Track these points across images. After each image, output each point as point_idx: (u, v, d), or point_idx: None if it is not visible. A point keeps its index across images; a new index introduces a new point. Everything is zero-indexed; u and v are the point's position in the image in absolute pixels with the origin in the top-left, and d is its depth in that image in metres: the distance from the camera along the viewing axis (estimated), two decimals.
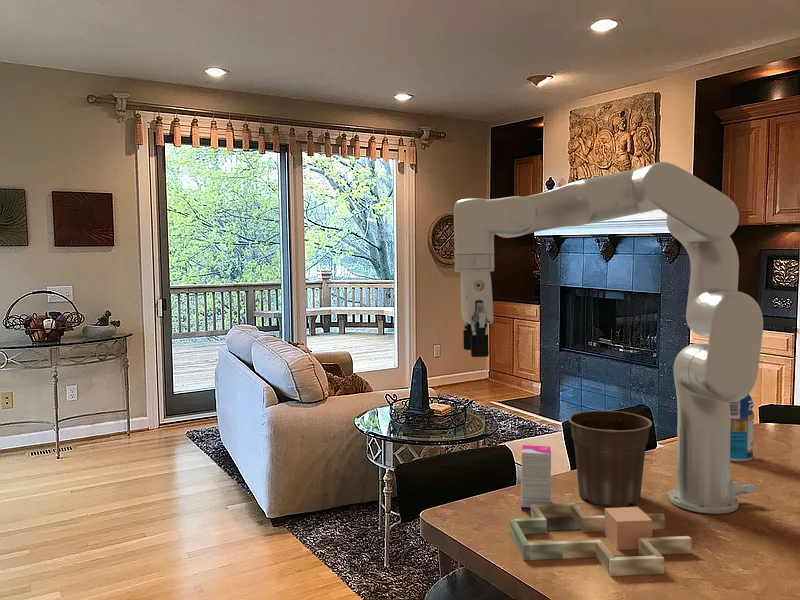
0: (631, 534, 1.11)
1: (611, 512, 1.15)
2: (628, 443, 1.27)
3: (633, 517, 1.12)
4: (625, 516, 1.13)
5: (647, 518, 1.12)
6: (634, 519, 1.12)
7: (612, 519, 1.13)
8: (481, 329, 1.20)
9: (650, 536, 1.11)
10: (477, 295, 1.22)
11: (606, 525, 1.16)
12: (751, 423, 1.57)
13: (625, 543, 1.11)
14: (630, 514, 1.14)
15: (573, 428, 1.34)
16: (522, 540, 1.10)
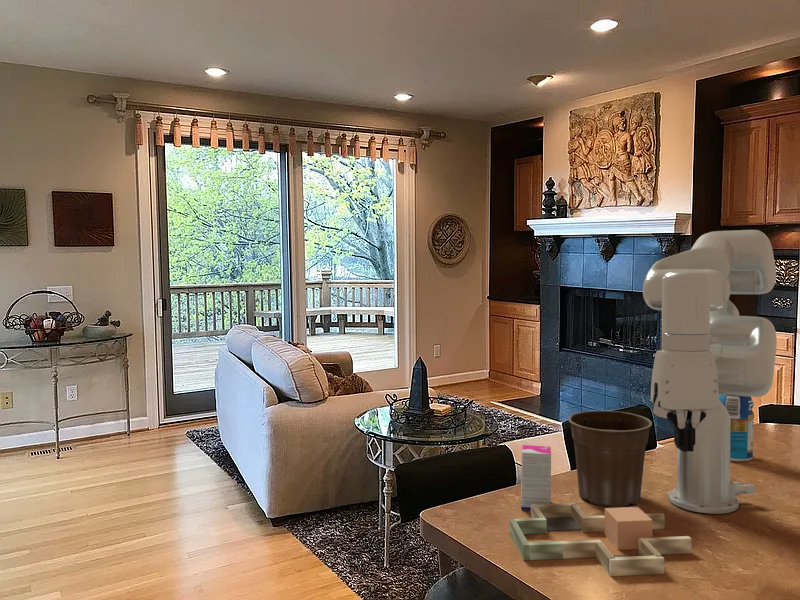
0: (632, 534, 1.11)
1: (611, 512, 1.15)
2: (628, 443, 1.27)
3: (634, 517, 1.12)
4: (625, 516, 1.13)
5: (647, 518, 1.12)
6: (634, 519, 1.12)
7: (612, 519, 1.13)
8: None
9: (650, 536, 1.11)
10: None
11: (606, 525, 1.16)
12: (751, 423, 1.57)
13: (626, 543, 1.11)
14: (630, 514, 1.14)
15: (573, 428, 1.34)
16: (522, 540, 1.10)
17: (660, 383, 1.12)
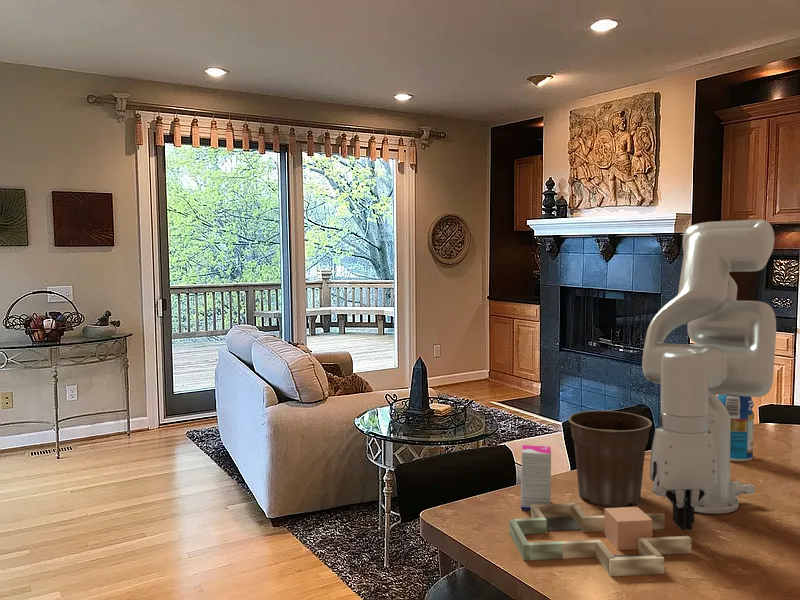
0: (632, 534, 1.11)
1: (611, 512, 1.15)
2: (628, 443, 1.27)
3: (634, 517, 1.12)
4: (625, 516, 1.13)
5: (647, 518, 1.12)
6: (634, 519, 1.12)
7: (612, 519, 1.13)
8: None
9: (650, 536, 1.11)
10: None
11: (606, 525, 1.16)
12: (751, 423, 1.57)
13: (626, 543, 1.11)
14: (630, 514, 1.14)
15: (573, 428, 1.34)
16: (522, 540, 1.10)
17: (658, 463, 1.13)
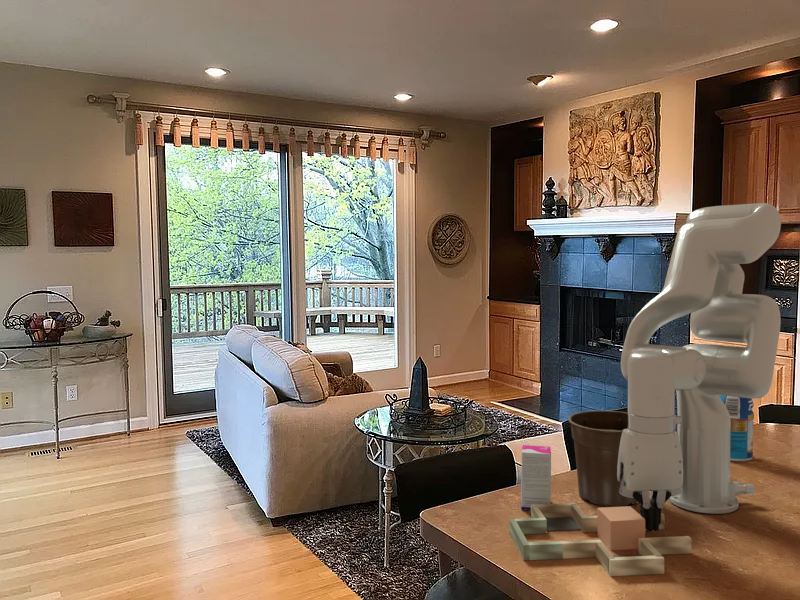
0: (625, 533, 1.11)
1: (604, 511, 1.15)
2: None
3: (626, 517, 1.12)
4: (618, 516, 1.13)
5: (640, 517, 1.12)
6: (627, 518, 1.12)
7: (605, 518, 1.13)
8: None
9: (643, 535, 1.11)
10: None
11: (598, 524, 1.16)
12: (751, 423, 1.57)
13: (619, 542, 1.11)
14: (623, 513, 1.14)
15: (573, 428, 1.34)
16: (522, 540, 1.10)
17: (625, 464, 1.12)
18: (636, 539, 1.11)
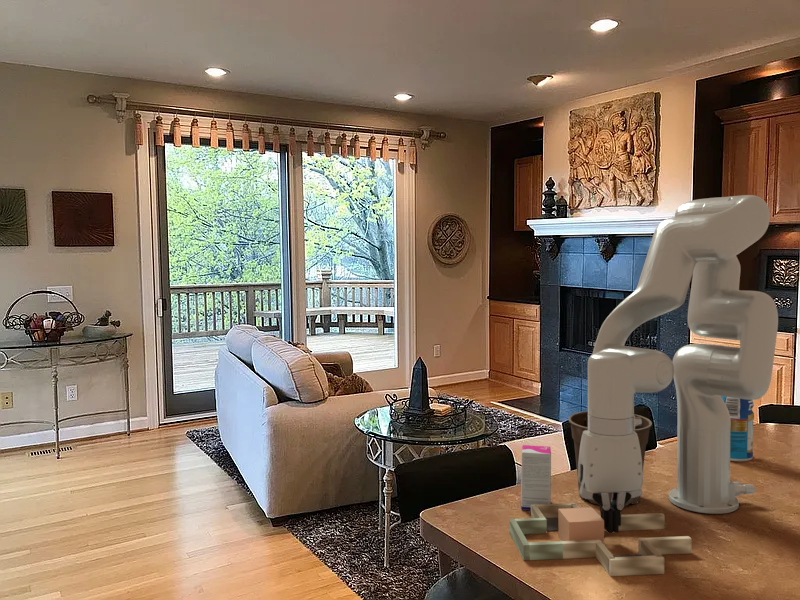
0: (583, 534, 1.11)
1: (564, 512, 1.15)
2: None
3: (586, 518, 1.12)
4: (578, 517, 1.13)
5: (599, 518, 1.12)
6: (586, 520, 1.11)
7: (565, 519, 1.13)
8: None
9: (602, 537, 1.11)
10: None
11: (559, 525, 1.16)
12: (751, 423, 1.57)
13: None
14: (583, 514, 1.14)
15: (573, 428, 1.34)
16: (522, 540, 1.10)
17: (584, 465, 1.12)
18: None
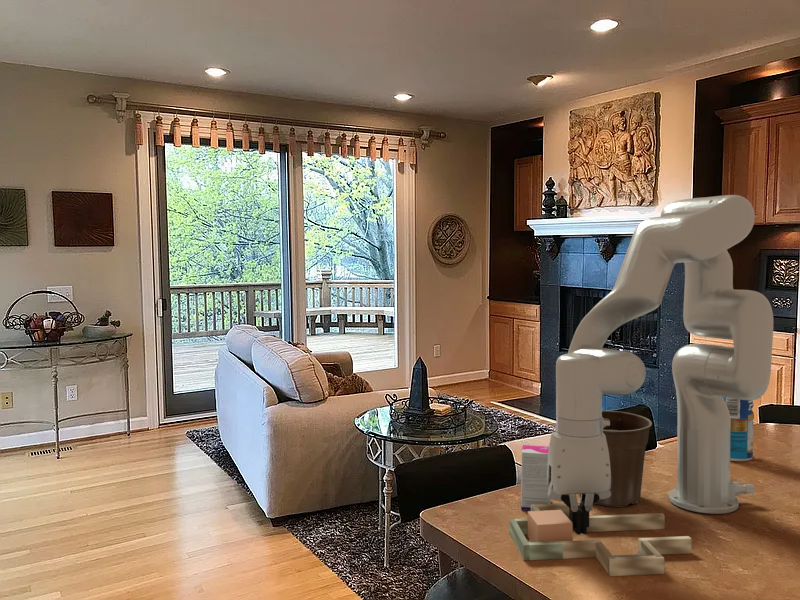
0: (552, 537, 1.11)
1: (533, 515, 1.14)
2: (628, 443, 1.27)
3: (554, 520, 1.12)
4: (546, 520, 1.12)
5: (568, 521, 1.12)
6: (555, 522, 1.11)
7: (533, 522, 1.13)
8: None
9: (570, 539, 1.11)
10: None
11: (528, 528, 1.16)
12: (751, 423, 1.57)
13: None
14: (552, 517, 1.14)
15: None
16: (522, 540, 1.10)
17: (552, 467, 1.12)
18: None
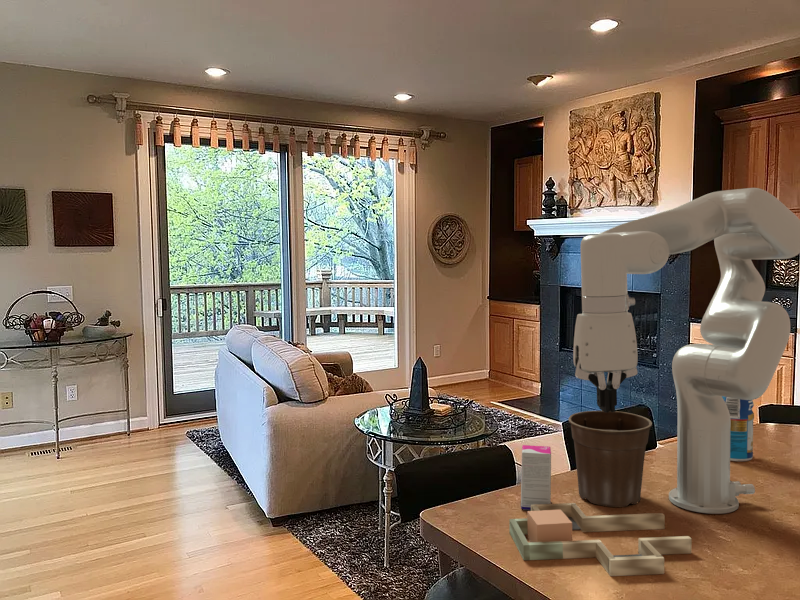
0: (552, 537, 1.11)
1: (533, 515, 1.14)
2: (628, 443, 1.27)
3: (554, 520, 1.12)
4: (546, 519, 1.12)
5: (567, 521, 1.12)
6: (554, 522, 1.11)
7: (533, 522, 1.13)
8: None
9: (570, 539, 1.11)
10: None
11: (528, 528, 1.16)
12: (751, 423, 1.57)
13: None
14: (552, 516, 1.14)
15: (573, 428, 1.34)
16: (522, 540, 1.10)
17: (580, 345, 1.13)
18: None
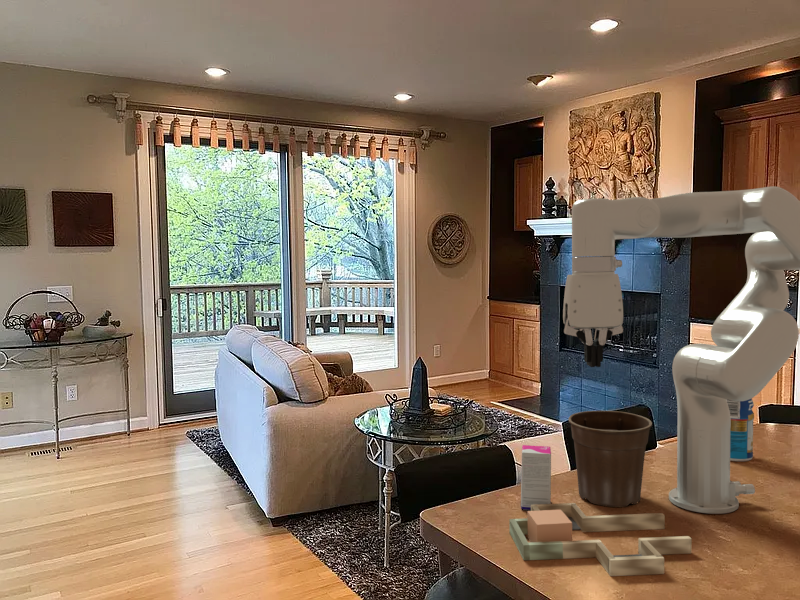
0: (551, 537, 1.11)
1: (533, 515, 1.14)
2: (628, 443, 1.27)
3: (554, 520, 1.12)
4: (546, 519, 1.12)
5: (567, 521, 1.12)
6: (554, 522, 1.11)
7: (533, 522, 1.13)
8: None
9: (570, 539, 1.11)
10: None
11: (528, 528, 1.16)
12: (751, 423, 1.57)
13: None
14: (552, 516, 1.14)
15: (573, 428, 1.34)
16: (522, 540, 1.10)
17: (568, 303, 1.20)
18: None
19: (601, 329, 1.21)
